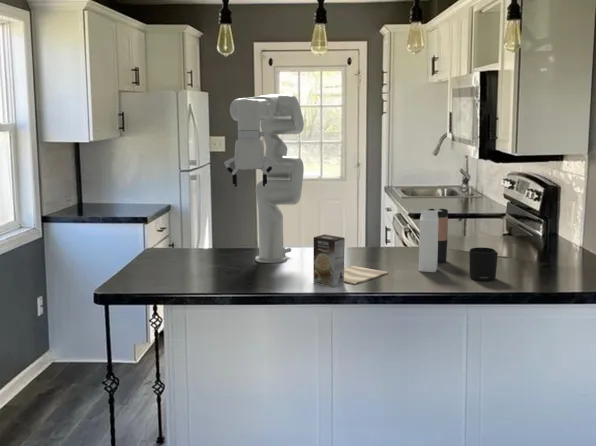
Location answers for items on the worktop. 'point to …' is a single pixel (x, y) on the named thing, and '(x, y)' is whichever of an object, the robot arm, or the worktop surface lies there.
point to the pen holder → (483, 264)
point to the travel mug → (442, 234)
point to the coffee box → (329, 260)
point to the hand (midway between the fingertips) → (249, 186)
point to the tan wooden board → (360, 274)
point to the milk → (428, 241)
